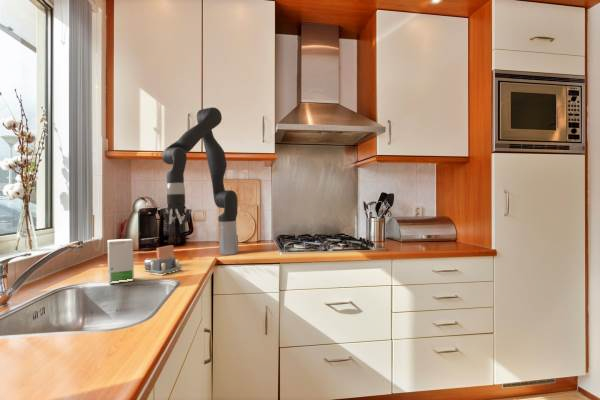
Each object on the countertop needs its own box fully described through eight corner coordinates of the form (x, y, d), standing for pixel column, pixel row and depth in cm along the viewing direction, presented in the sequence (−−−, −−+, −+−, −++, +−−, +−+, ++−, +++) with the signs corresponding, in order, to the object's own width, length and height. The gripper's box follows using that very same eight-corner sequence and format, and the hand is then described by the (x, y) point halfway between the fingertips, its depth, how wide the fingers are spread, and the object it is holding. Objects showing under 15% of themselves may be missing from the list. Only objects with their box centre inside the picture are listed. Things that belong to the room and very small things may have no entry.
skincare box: (109, 285, 123) (107, 241, 123) (107, 281, 129) (106, 240, 128) (135, 281, 128) (133, 239, 127) (132, 277, 133) (130, 237, 133)
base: (153, 267, 151) (153, 263, 151) (162, 268, 148) (161, 264, 148) (142, 270, 146) (141, 265, 146) (150, 271, 143) (150, 266, 143)
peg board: (168, 268, 148) (168, 258, 147) (181, 270, 144) (181, 259, 144) (148, 274, 139) (148, 262, 139) (161, 275, 135) (161, 264, 135)
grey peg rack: (150, 267, 143) (149, 250, 143) (141, 266, 146) (140, 249, 145) (177, 261, 155) (176, 245, 155) (168, 260, 158) (167, 245, 158)
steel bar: (169, 266, 145) (169, 256, 145) (175, 267, 144) (175, 257, 144) (153, 270, 138) (153, 260, 138) (159, 271, 137) (159, 261, 137)
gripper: (194, 192, 153) (196, 231, 153) (166, 193, 156) (168, 231, 157) (185, 193, 146) (187, 233, 146) (156, 194, 149) (157, 233, 149)
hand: (177, 232), depth 151 cm, fingers open, 3 cm apart
